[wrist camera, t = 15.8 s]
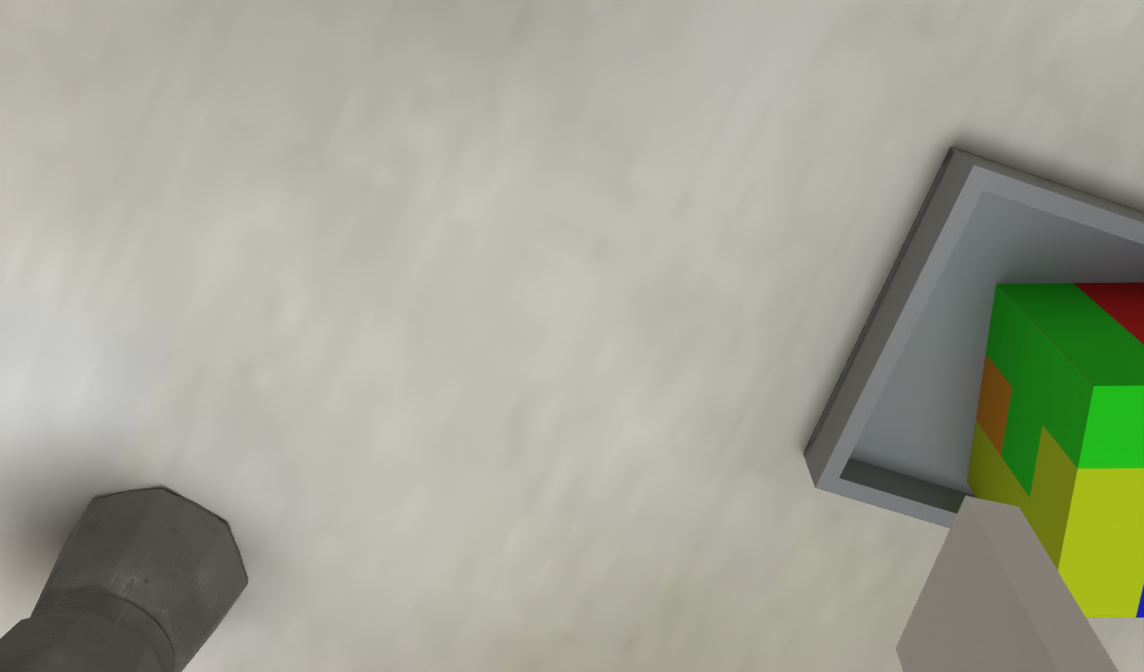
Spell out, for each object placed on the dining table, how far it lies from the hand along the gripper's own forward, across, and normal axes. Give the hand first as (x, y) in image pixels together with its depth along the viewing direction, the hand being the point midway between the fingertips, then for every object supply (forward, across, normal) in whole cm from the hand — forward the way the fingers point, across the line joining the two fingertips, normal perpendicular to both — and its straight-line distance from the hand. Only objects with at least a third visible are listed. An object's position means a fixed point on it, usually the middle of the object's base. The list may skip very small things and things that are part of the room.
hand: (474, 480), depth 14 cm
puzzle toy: (+31, +26, -9) cm, 42 cm away
